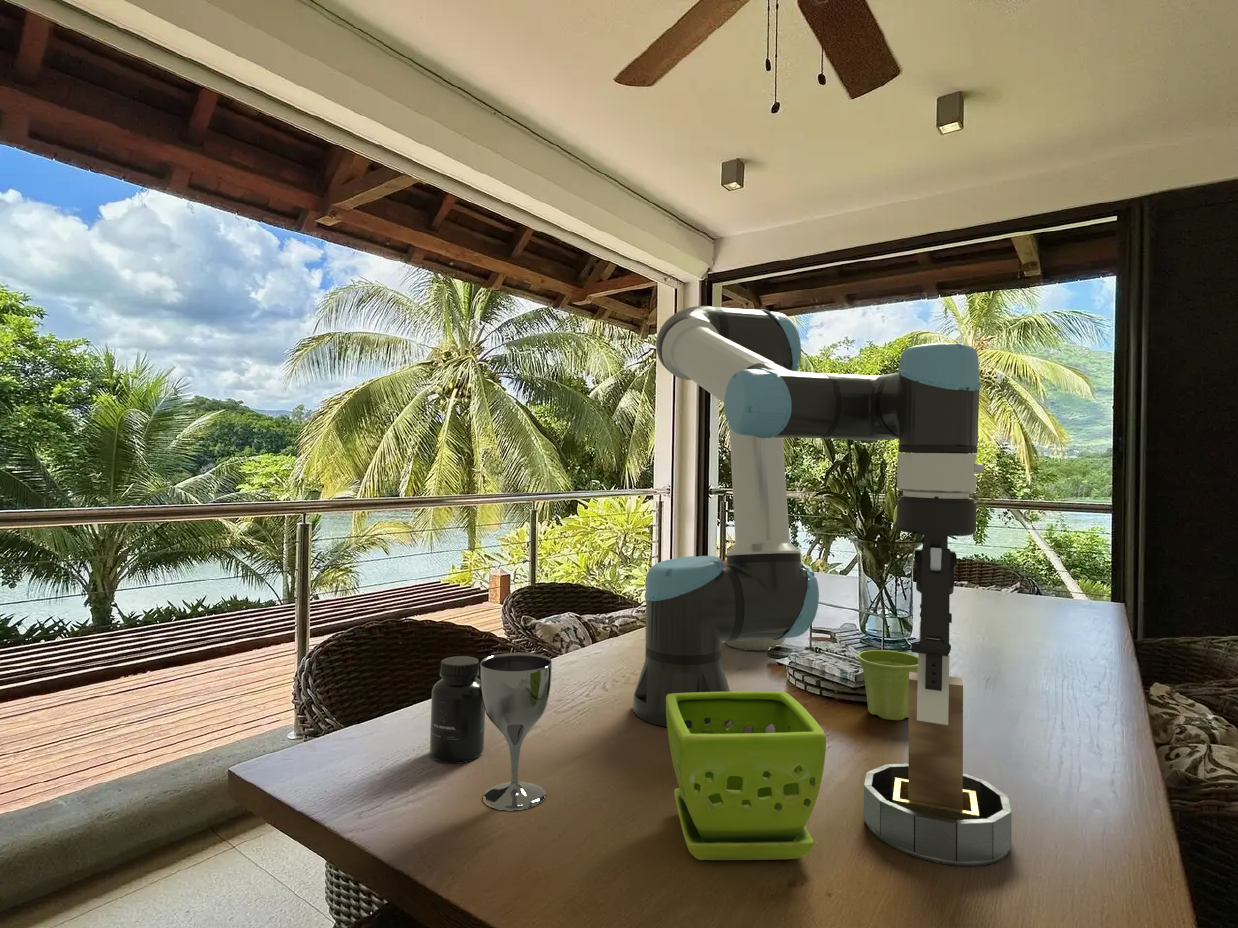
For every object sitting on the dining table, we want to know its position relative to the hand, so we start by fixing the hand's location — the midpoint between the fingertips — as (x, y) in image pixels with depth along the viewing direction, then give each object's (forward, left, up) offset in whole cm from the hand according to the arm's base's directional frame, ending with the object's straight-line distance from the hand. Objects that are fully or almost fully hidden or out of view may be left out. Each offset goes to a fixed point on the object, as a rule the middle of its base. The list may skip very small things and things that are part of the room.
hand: (931, 699), depth 73 cm
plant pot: (-6, +36, -13) cm, 38 cm away
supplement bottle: (-56, -5, -13) cm, 58 cm away
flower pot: (-18, -10, -13) cm, 25 cm away
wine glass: (-43, -12, -13) cm, 46 cm away
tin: (0, 0, -13) cm, 13 cm away
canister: (-35, +70, -13) cm, 79 cm away
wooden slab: (0, 0, -13) cm, 13 cm away
